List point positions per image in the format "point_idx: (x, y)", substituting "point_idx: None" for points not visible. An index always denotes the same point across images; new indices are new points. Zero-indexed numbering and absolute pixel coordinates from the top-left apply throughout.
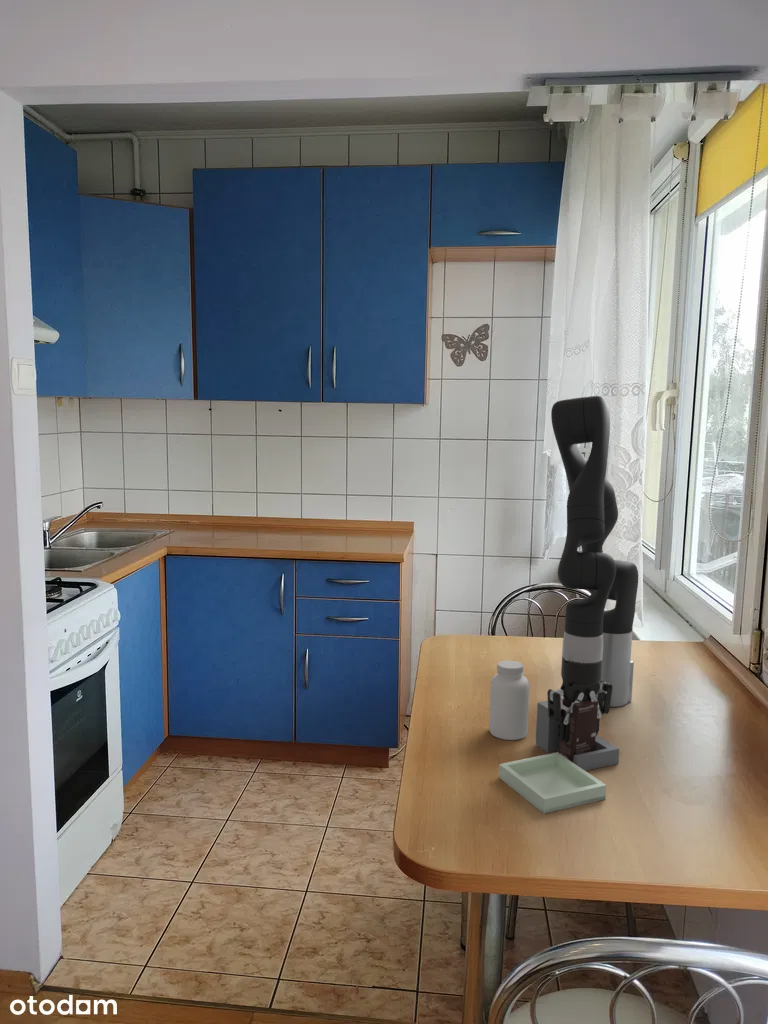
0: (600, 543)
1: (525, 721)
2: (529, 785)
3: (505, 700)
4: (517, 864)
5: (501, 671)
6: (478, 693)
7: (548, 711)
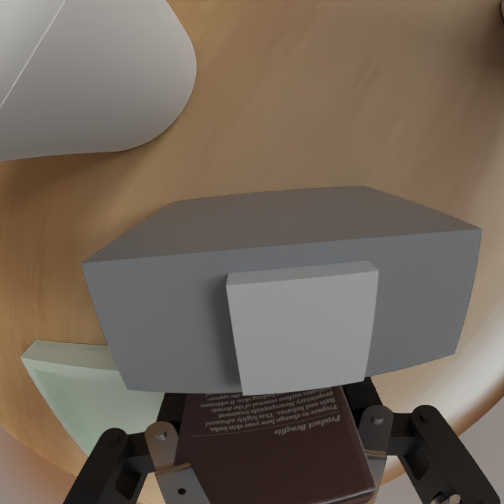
0: None
1: (132, 134)
2: (71, 433)
3: None
4: (63, 465)
5: None
6: None
7: (91, 454)
